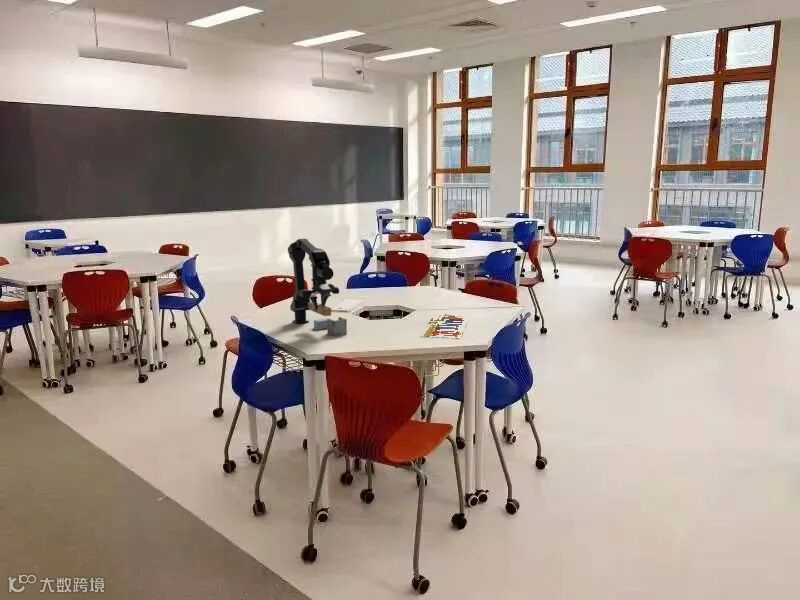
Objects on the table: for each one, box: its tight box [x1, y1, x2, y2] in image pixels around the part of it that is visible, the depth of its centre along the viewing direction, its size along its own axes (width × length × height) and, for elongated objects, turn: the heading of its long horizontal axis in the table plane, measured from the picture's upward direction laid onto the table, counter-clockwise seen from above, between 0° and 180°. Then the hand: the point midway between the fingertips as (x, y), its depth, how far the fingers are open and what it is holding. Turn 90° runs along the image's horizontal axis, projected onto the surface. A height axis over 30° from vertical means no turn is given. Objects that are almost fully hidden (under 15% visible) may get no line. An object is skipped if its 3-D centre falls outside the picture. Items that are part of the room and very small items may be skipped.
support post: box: [313, 317, 333, 330], centre depth 292 cm, size 4×8×4 cm, turn 125°
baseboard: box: [330, 298, 364, 313], centre depth 343 cm, size 31×3×12 cm
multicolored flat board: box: [424, 313, 464, 338], centre depth 295 cm, size 45×2×19 cm
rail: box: [308, 301, 332, 317], centre depth 282 cm, size 18×3×4 cm, turn 34°
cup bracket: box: [326, 316, 348, 337], centre depth 281 cm, size 6×7×7 cm
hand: (319, 309), depth 282 cm, fingers closed on rail, 3 cm apart
